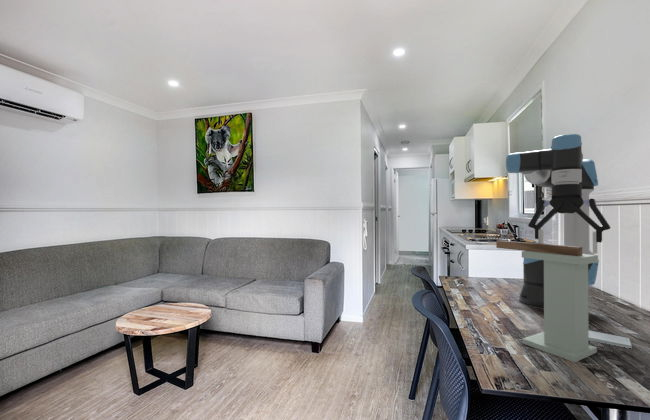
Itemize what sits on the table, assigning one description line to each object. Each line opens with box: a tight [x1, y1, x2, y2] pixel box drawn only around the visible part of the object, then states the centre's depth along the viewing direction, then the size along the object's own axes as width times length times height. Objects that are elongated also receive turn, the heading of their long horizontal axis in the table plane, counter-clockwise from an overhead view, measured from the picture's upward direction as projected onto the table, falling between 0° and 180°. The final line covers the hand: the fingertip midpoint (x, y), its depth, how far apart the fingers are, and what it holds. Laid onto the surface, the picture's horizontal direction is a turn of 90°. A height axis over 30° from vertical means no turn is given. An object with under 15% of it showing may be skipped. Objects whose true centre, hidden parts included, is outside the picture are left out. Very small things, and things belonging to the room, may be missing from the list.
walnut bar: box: [495, 239, 582, 256], centre depth 99 cm, size 3×24×2 cm, turn 28°
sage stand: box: [521, 250, 599, 363], centre depth 94 cm, size 13×16×29 cm
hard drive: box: [589, 330, 633, 350], centre depth 100 cm, size 2×8×12 cm
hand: (566, 251), depth 97 cm, fingers open, 13 cm apart
